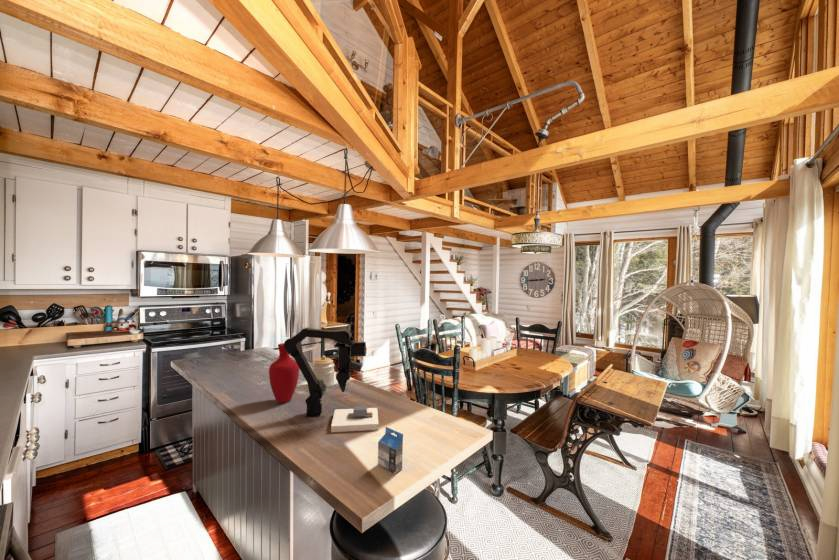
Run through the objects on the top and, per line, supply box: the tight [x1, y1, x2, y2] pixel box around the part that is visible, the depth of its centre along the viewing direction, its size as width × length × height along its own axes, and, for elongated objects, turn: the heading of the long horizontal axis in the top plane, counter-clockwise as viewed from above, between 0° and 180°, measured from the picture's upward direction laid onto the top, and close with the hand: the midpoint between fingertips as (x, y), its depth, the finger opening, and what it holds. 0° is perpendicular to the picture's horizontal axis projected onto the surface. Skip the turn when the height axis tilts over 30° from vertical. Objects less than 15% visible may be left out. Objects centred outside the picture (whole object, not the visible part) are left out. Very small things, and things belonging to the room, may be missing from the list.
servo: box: [348, 405, 372, 419], centre depth 155 cm, size 11×4×6 cm, turn 99°
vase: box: [268, 342, 300, 404], centre depth 178 cm, size 15×15×30 cm
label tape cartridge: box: [377, 426, 404, 475], centre depth 119 cm, size 9×4×12 cm, turn 50°
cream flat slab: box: [330, 407, 379, 433], centre depth 155 cm, size 20×18×3 cm
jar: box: [311, 355, 335, 388], centre depth 206 cm, size 13×13×18 cm
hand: (343, 388), depth 163 cm, fingers open, 9 cm apart
